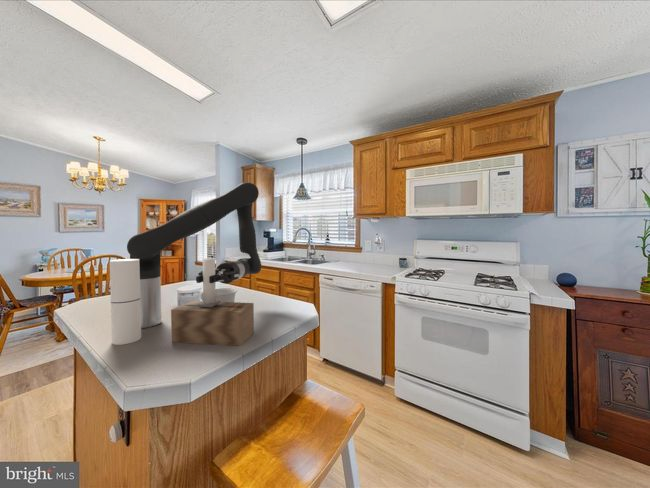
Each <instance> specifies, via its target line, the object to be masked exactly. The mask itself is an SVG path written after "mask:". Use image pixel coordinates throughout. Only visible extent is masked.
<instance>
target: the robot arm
mask: <svg viewBox="0 0 650 488" xmlns="http://www.w3.org/2000/svg"><path fill="white" fill-rule="evenodd" d="M259 191H260V190H259V188H258V187H257V185H255V184H254V183H252V182H249V181H248V182H246V181H245V182H241V183H239V184H238V185H237V186H236V187H233V189H231V190H229V191H227V192H225V193H224V194H222V195H220V196H217V197H215V198H211V199H209V200H206V201H203V202H200V203H198V204H196V205H194V206H193V207H191V208H189V209H186V210H185V211H183V212H181V213H179V214H178V215H176V216H174V217H173V218H172V219H170V220H169V221H167V222H166V223H162V225H159V226H157V227H154V228H151V229H148V230H147V231H144V232H141V233H137V234H135V235H133V236H132V237H130V239H129V240H128V241H127V245H126V250H127V253H128V254H129V259H139V266H140V305H141V329H145V328H151V327H153V326H157V325H159V324H161V323H162V287H161V286H162V285H161V283H162V281H161V278H162V277H161V271H162V270H161V269H162V268H161V267H162V265H161V264H162V263H161V261H162V259H161V252H162V251H163V250H164V249H167V247H168V246H171V245H172V244H174V243H176V242H177V241H180V240H182V239H185V238H187V237H190V236H193V235H196V234H197V233H199V232H201V231H203V230H205V229H207V228H209V227H211V226H213V225H214V224H215V223H216V224H217V222H219V221H220V220H222V219H223V218H225V217H226V216H228V215H229V214H231V213H232V212H234V211H236V215H237V223H238V238H239V239H238V240H239V241H238V242H239V252H241V253H243V254H244V253H245V254H247V255H248V256H249V257H242V258H237V260H231V261H226V262H222V263H220V264H219V265H217V267H215V275H212V276H210V277H209V283H215V284H216V283H217V282H219V283H221V284H225V285H227V284H230V283H232V282H235V281H237V280H240V279H241V278H244V277H246V276H247V275H257V274H259V273H260V272H261V270H262V262H261V259H260V256H259V253H258V250H257V236H256V235H257V234H256V228H255V224H254V219H253V211H252V209H253V204H254V203H255V202H256V201H257V200H258V199H259V195H260V194H259V193H260V192H259ZM195 282H196V284H200V283H201V284H202V283H203V270H201V271H200V272H199V273H198V275H196V276H195Z"/></svg>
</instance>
